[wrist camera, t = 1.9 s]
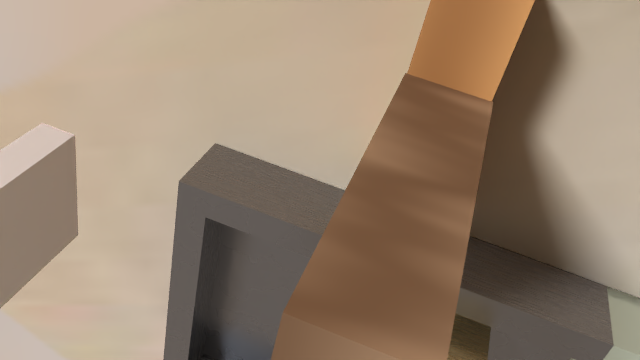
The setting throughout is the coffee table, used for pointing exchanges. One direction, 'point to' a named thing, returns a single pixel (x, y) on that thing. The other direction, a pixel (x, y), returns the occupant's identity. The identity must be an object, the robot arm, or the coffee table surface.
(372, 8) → the coffee table surface
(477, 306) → the dark grey shallow tray
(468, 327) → the light brown cube
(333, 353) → the bent wooden stick
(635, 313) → the tray
